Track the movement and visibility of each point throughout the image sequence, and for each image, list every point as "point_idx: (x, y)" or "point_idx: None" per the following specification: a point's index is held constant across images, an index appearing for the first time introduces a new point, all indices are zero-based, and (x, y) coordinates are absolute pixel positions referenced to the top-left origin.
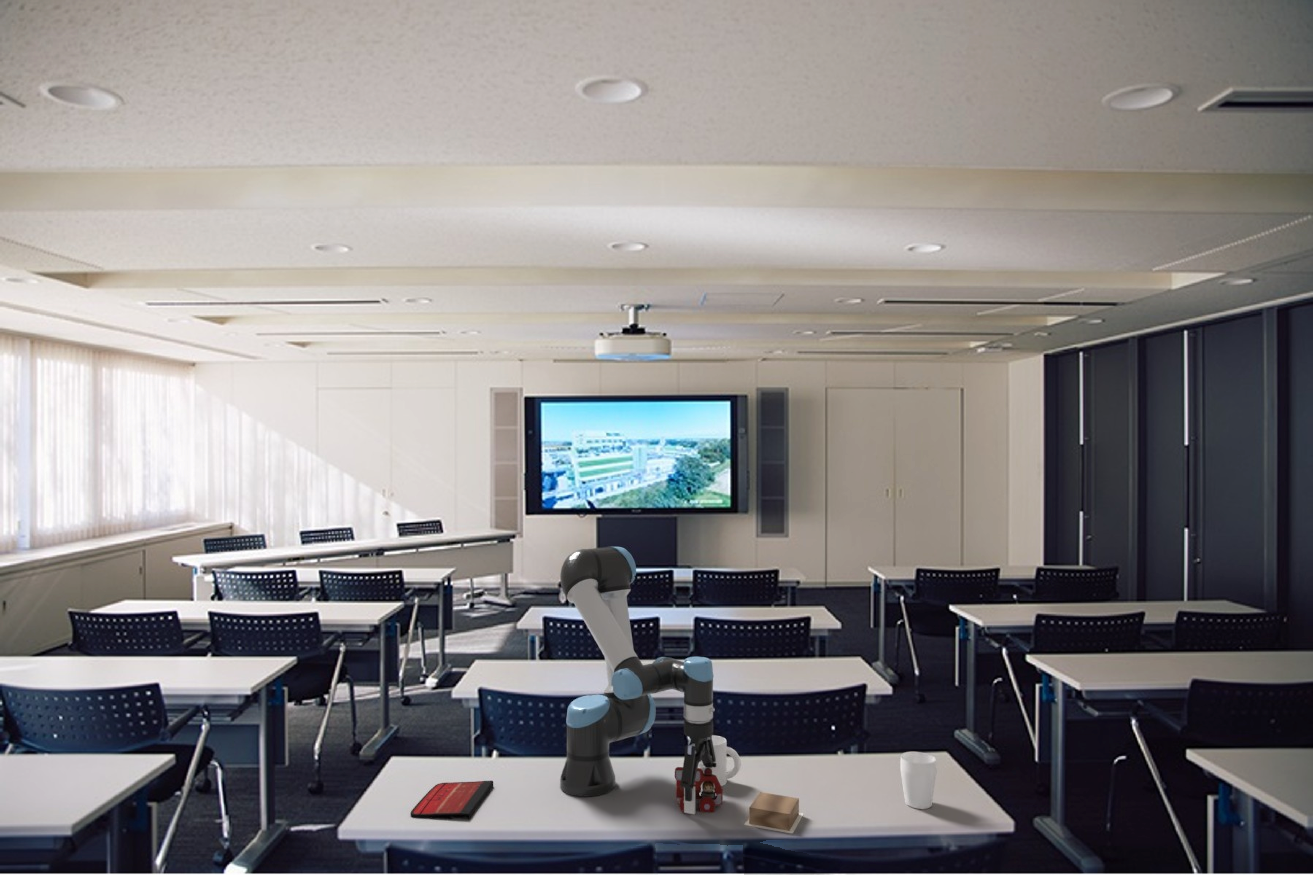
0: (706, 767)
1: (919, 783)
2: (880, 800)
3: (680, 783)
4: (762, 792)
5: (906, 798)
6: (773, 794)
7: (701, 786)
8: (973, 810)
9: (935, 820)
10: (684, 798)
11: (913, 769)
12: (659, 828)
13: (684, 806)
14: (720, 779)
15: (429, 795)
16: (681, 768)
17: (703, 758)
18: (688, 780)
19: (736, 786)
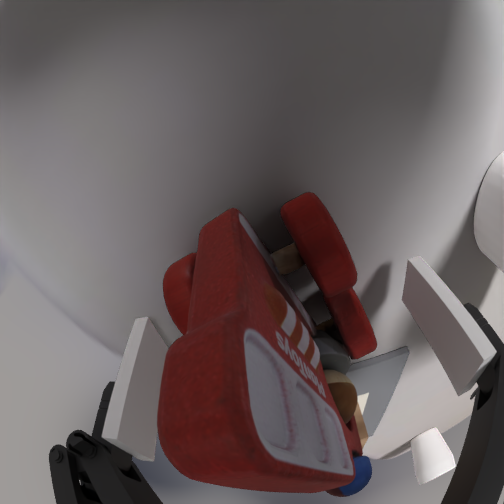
0: (481, 370)
1: (414, 467)
2: (430, 422)
3: (68, 447)
4: (367, 438)
5: (420, 440)
6: (362, 446)
7: (483, 183)
8: None
9: (384, 453)
10: (119, 375)
11: (419, 478)
12: (28, 268)
13: (128, 342)
14: (500, 269)
15: None
16: (240, 485)
17: (475, 455)
18: (83, 493)
19: (491, 278)
